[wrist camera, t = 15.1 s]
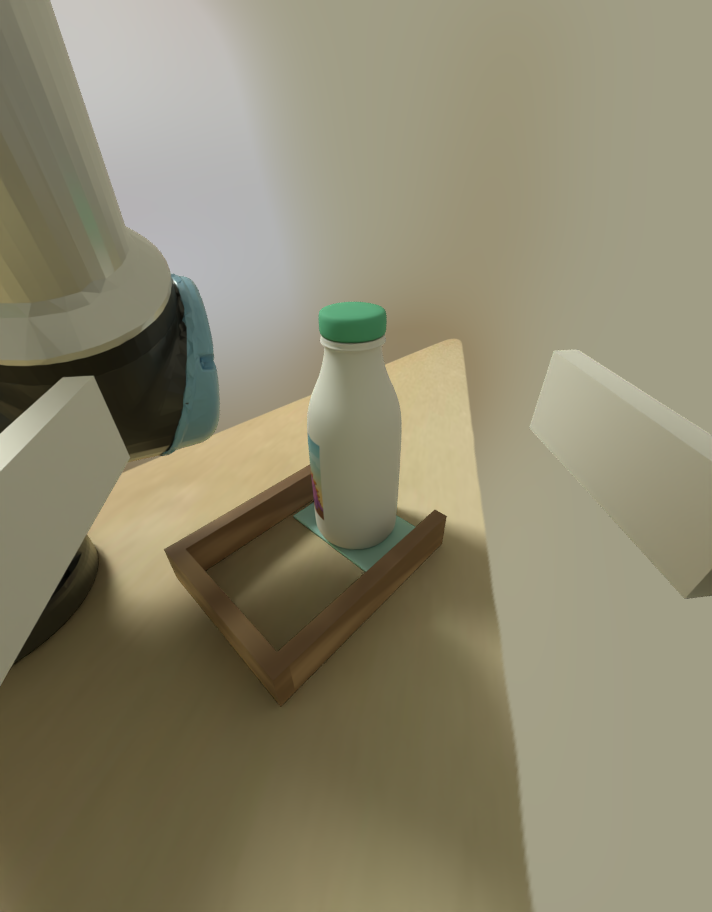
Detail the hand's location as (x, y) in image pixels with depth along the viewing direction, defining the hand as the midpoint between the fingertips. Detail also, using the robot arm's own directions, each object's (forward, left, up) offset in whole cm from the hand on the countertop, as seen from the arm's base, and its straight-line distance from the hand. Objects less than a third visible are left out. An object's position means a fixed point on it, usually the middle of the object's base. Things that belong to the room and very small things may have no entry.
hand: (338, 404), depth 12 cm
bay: (-11, +7, -22) cm, 25 cm away
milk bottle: (-11, +12, -22) cm, 27 cm away
